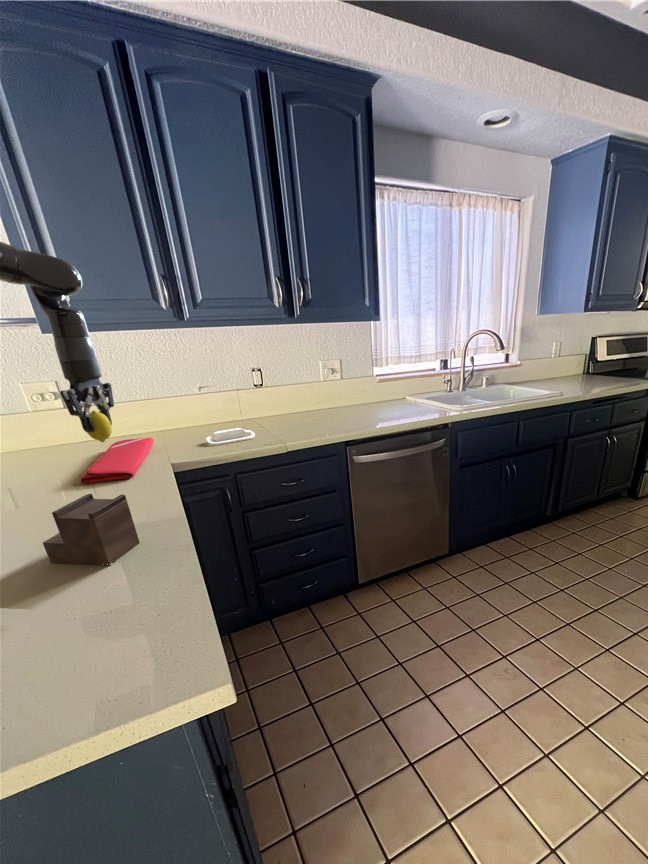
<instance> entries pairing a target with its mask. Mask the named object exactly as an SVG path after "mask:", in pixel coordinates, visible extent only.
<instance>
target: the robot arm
mask: <svg viewBox="0 0 648 864" xmlns="http://www.w3.org/2000/svg"><path fill="white" fill-rule="evenodd" d="M0 281H1V282H3V283H8V284H12V285H18V286H19V285H20V286H22V285H23V286H29V288H30V290H31V292H32V294H33V296H34V298H35V299H36V302H37V303H38V304H39V307H40V309H41V310H42V311H43V313H44V314H45V316H46V319H47V321H48V325H49V328H50V331H51V334H52V337H53V342H54V348H55V351H56V354H57V358H58V361H59V365H60V368H61V371H62V374H63V378H64V379H65V380H66V381H68V382H69V388H68V389H65V390H60V391H59V393H60V397H61V398H62V400H63V402H64V404H65V407H66V408H67V411H68V413H69V415H70V416H74V417H78V418H79V420H80V424H81V426H82V430H83V431H84V432H85V433H87V432H94V431H95V429H94V426H93V423H92V419H91V416H89V415H90V413H91V410H90V409H91V407H92V406H93V405H94V406H95V407H96V409H97V410H98V412H99V413H102V414H104V415H105V416H106V417H107V418H108V420H109V421H110V424H111V426H112V425H113V423H112V421H113V420H112V418H111V414H110V411H111V408H114V407H115V402H114V396H113V389H112V388H113V387H112V383H111V382H101V380H100V378H102V377H103V376H102V372H101V368H100V364H99V360H98V356H97V353H96V350H95V347H94V344H93V342H92V339H91V336H90V332H89V328H88V325H87V322H86V319H85V316H84V314H83V312H82V311H80V310H79V309H77V308H74V307H72V306H71V305H70V303H69V301H68V299H67V297H72V296H75V295H77V294H78V293H79V292H80V291H82V288H83V278H82V276H81V274H80V272H79V271H78V269H76V268H75V266H73V264H71V263H70V262H68V261H66V260H64V259H62V258H59V257H56V256H53V255H49V254H44V253H40V252H36V251H31V250H26V249H22V248H18V247H15V246H13V245H11V244H8V243H6V242H2V241H0Z"/></svg>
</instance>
